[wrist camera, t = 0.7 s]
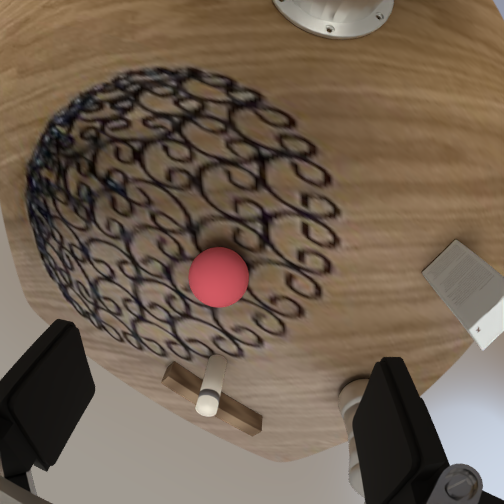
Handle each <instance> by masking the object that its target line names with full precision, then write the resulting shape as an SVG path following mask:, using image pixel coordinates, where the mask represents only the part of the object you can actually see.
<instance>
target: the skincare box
mask: <svg viewBox="0 0 504 504" xmlns="http://www.w3.org/2000/svg"><path fill="white" fill-rule="evenodd" d="M422 274H423V276H424V277H425V278H426V280H427V281H428V282H429V284H430V285H431V286H432V288H433V289H434V290H435V291H436V293H437V294H438V295H439V296H440V298H441V299H442V300H443V301H444V303H445V304H446V305H447V306H448V307H449V309H450V310H451V311H452V312H453V314H454V315H455V316H456V317H457V319H458V320H459V321H460V323H461V324H462V325H463V326H464V328H465V329H466V330H467V332H468V333H469V334H470V336H471V337H472V338H473V340H474V341H475V342H476V344H477V345H478V346H479V348H480V349H481V350H482V351H483V350H484V349H485V348H486V347H487V346H488V345H489V344H490V343H492V342H493V341H494V339H496V338H497V337H498V335H500V334H501V333H502V332H503V331H504V277H503V276H502V275H501V274H500V273H498V272H497V271H496V270H495V269H494V268H492V267H491V266H490V265H489V264H487V263H486V262H485V261H484V260H482V259H481V258H480V257H479V256H478V255H476V254H475V253H474V252H472V251H471V250H470V249H469V248H467V247H466V246H465V245H463V244H462V243H461V242H459V241H458V240H456V239H455V240H454V241H453V242H452V243H451V244H450V245H449V246H448V247H447V248H446V249H445V250H444V251H443V252H442V253H441V254H440V255H439V256H438V257H437V258H436V259H435V260H434V261H433V262H432V263H431V264H430V265H429V266H428V267H427V268H426V269H425V270H424V271H423V272H422Z"/></svg>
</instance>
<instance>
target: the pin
mask: <svg viewBox="0 0 504 504" xmlns="http://www.w3.org/2000/svg"><path fill="white" fill-rule="evenodd" d="M226 365H227V360H226V358H225V357H223V356H222V355H218V354H215V355H212V356H210V358H209V361H208V364H207V368H206V371H205V375H204V379H203V382H202V386H201V390H200V393H199V396H198V401H197V404H196V411H197V412H198V413H199V414H201V415H203V416H207V417H211V416H214V415H216V413H217V409H218V405H219V400H220V394H221V389H222V384H223V380H224V375H225V370H226Z"/></svg>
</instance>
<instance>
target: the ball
mask: <svg viewBox="0 0 504 504" xmlns="http://www.w3.org/2000/svg"><path fill="white" fill-rule="evenodd" d="M248 282H249V273H248V269H247V266H246V263H245V262H244V260H243V259H242V258H241V257H240V256H239V255H238V254H237V253H236V252H234V251H233V250H230V249H228V248H223V247H214V248H210V249H207V250H205V251H203V252H202V253H200V254H199V255H198V256H197V257H196V258H195V259H194V261H193V262H192V265H191V267H190V270H189V284H190V287H191V290H192V292H193V293H194V295H195V296H196V297H197V298H198V299H199V300H200V301H201V302H203V303H204V304H206V305H209V306H212V307H226V306H229V305H232V304H234V303H235V302H237V301H238V300H239V299H240V298H241V297H242V296H243V294H244V293H245V291H246V289H247V286H248Z"/></svg>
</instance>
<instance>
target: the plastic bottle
mask: <svg viewBox="0 0 504 504" xmlns="http://www.w3.org/2000/svg"><path fill="white" fill-rule="evenodd" d="M368 381H369V379H359V380H355V381H353V382H351V383H349V384H348V385H346V386H345V387H344V388H343V390H342V391H341V393H340V395H339V404H338V407H339V410H340V413H341V416H342V418H343V420H344V423H345V426H346V430H347V434H348V442H349V474H348V475H349V483H350V485H351V487H352V488H353V489H354V490H355V491H356V492H357V493H358V494H360V495H361V496H362V497H364V498H365V496H364V490H363V484H362V478H361V472H360V466H359V460H358V455H357V450H356V444H355V439H354V434H353V429H352V421H353V417H354V415H355V413H356V410H357V408H358V406H359V403H360V401H361V399H362V396H363V394H364V391H365V389H366V386H367V384H368ZM364 504H366V503H365V502H364Z"/></svg>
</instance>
